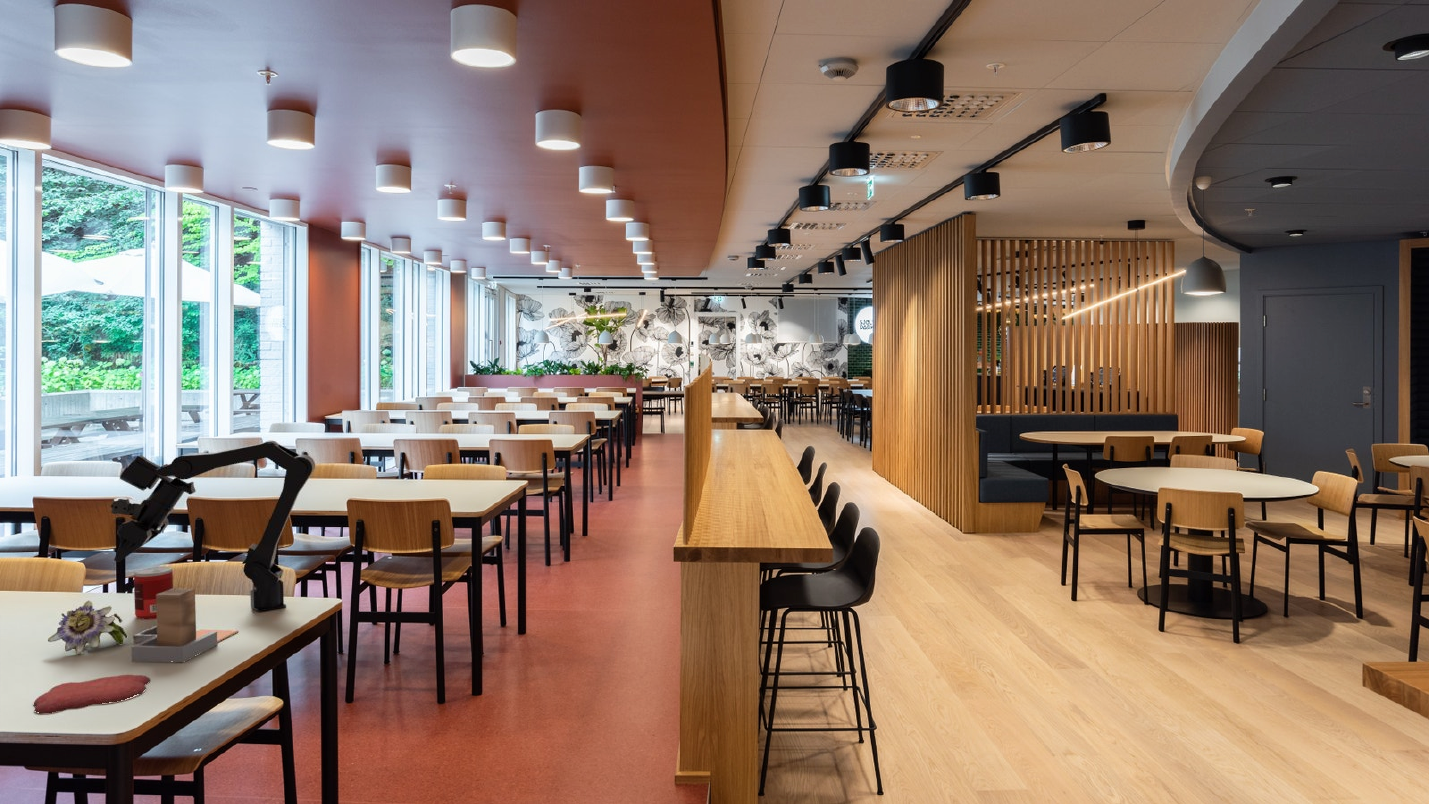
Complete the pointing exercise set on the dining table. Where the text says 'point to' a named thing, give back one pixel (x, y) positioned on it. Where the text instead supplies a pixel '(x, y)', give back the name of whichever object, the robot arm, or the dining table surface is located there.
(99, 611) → the passion flower
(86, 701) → the patty
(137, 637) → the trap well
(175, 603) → the walnut block
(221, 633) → the pad
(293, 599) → the dining table surface
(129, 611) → the dining table surface
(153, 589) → the canned food
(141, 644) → the channel
